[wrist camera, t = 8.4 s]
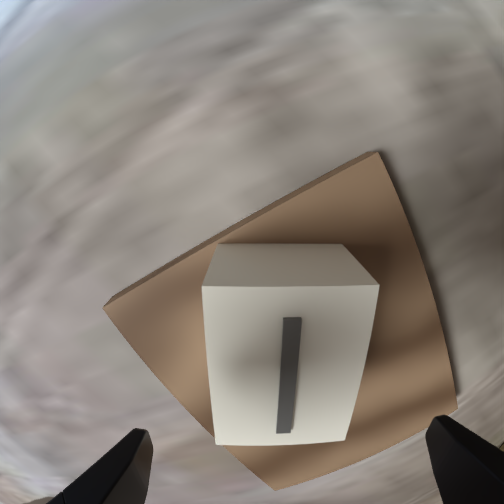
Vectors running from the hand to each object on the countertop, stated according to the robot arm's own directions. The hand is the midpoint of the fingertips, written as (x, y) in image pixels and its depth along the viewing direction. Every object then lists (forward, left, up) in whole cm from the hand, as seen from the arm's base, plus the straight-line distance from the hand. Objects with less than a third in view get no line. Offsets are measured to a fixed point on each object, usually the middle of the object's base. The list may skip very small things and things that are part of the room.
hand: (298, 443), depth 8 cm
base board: (-5, 0, -10) cm, 11 cm away
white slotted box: (0, 0, -8) cm, 8 cm away
